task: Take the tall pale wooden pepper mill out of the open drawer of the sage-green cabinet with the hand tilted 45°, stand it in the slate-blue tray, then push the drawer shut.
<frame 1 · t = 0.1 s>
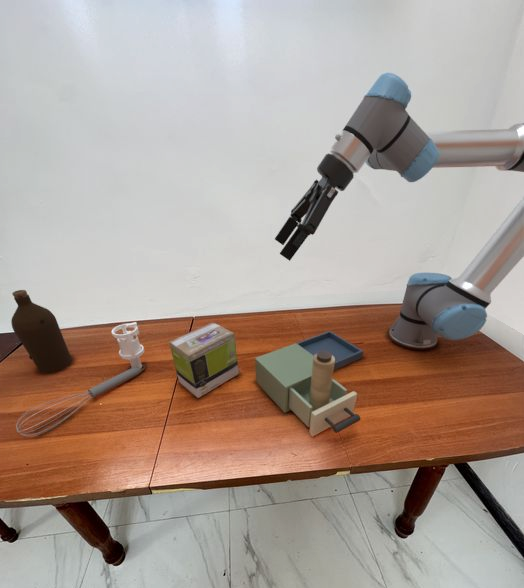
hand: (281, 249, 71), 36 cm above the table, tool tilted 35°, fingers open, 13 cm apart
cabinet: (290, 387, 83), on the table
olive oil: (56, 365, 95), on the table
strainer: (137, 367, 93), on the table
kitchen whisk: (91, 401, 81), on the table
pepper mill: (318, 407, 74), point 2 cm above the table, touching drawer
tea box: (209, 379, 87), on the table
drawer: (322, 403, 72), point 4 cm above the table, slide at 9.0 cm, touching pepper mill
tray: (325, 354, 96), on the table
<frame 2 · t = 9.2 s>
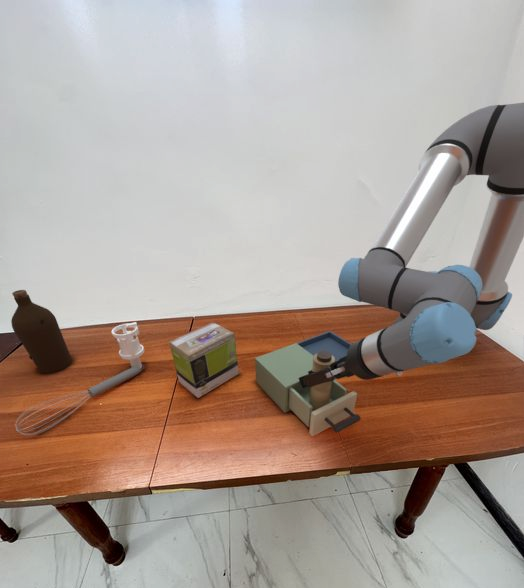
hand: (310, 378, 73), 9 cm above the table, tool tilted 45°, fingers closed on pepper mill, 5 cm apart
pepper mill: (318, 407, 74), point 2 cm above the table, touching drawer, gripper
everything else where it was.
when the fingers open (7 cm above the table, at t = 21.9 s): pepper mill stays where it is, resting on tray.
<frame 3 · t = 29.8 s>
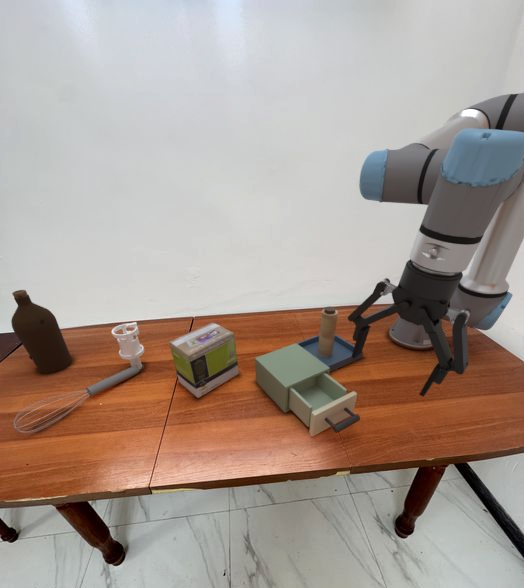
hand: (388, 372, 55), 20 cm above the table, tool pointing down, fingers open, 13 cm apart
pepper mill: (324, 353, 96), point 1 cm above the table, touching tray
drawer: (322, 403, 72), point 4 cm above the table, slide at 9.0 cm
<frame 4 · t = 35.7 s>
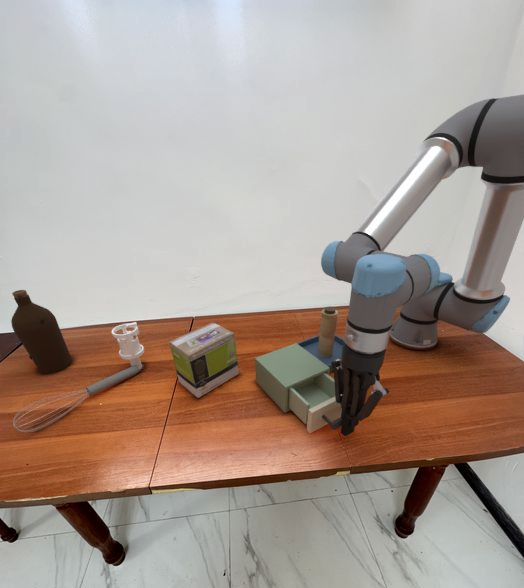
hand: (347, 432, 67), 2 cm above the table, tool pointing down, fingers closed
drawer: (319, 400, 72), point 4 cm above the table, slide at 8.0 cm, touching gripper
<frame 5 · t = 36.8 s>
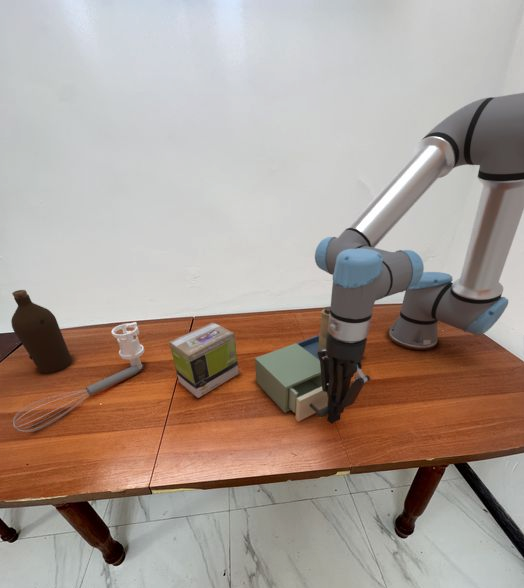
hand: (333, 419, 70), 2 cm above the table, tool pointing down, fingers closed
drawer: (308, 390, 75), point 4 cm above the table, slide at 3.6 cm, touching gripper
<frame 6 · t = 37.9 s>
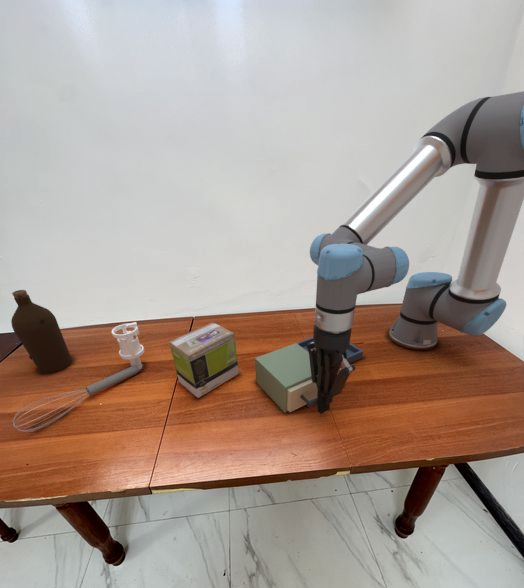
hand: (323, 410, 72), 2 cm above the table, tool pointing down, fingers closed
drawer: (299, 383, 78), point 4 cm above the table, slide at 0.0 cm, touching cabinet, gripper
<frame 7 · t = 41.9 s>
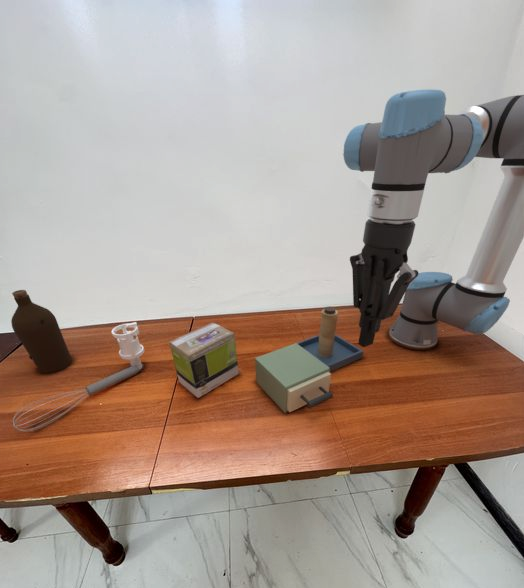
hand: (365, 343, 60), 22 cm above the table, tool pointing down, fingers closed
drawer: (299, 383, 78), point 4 cm above the table, slide at 0.0 cm, touching cabinet
at the end: pepper mill inside the target area in the tray (0.1 cm from its centre), point 0.6 cm above the tray's base; pepper mill tilted 0°; drawer slide at 0.0 cm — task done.
